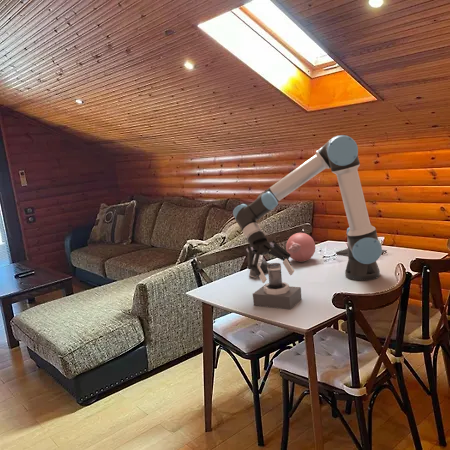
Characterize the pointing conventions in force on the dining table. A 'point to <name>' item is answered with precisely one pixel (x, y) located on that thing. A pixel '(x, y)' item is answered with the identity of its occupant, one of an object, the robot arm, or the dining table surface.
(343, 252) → the picture frame
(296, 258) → the pink star-marked ball
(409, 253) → the dining table surface
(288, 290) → the grey block socket
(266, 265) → the camera
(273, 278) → the lens
